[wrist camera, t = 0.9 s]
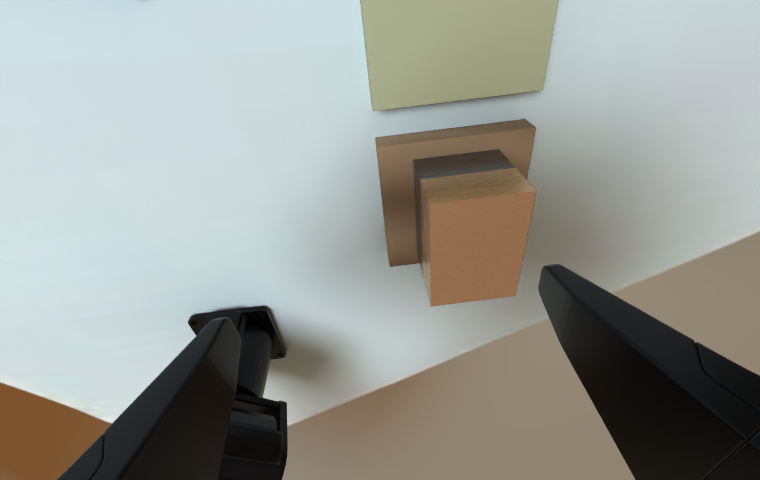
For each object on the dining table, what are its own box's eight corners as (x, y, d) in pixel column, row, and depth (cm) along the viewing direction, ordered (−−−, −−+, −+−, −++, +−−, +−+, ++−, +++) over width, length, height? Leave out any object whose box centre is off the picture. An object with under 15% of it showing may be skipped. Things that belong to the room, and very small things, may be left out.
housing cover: (500, 267, 22) (515, 295, 20) (423, 277, 22) (430, 306, 20) (515, 167, 18) (536, 191, 16) (420, 179, 18) (429, 204, 16)
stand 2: (506, 238, 26) (514, 251, 25) (387, 253, 26) (389, 266, 25) (524, 119, 21) (536, 127, 19) (375, 137, 21) (376, 147, 19)
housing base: (487, 243, 24) (500, 267, 22) (417, 252, 24) (423, 277, 22) (498, 148, 20) (515, 167, 18) (413, 159, 20) (420, 179, 18)
